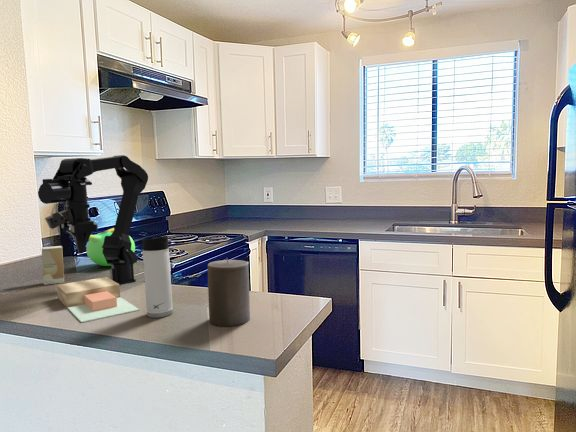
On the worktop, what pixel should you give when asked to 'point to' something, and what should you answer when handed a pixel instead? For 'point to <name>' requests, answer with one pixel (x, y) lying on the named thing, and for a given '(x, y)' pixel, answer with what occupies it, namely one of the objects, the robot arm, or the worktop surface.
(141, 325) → the worktop surface
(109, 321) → the worktop surface
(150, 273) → the travel mug
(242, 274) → the pillar candle
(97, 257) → the toy bird
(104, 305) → the salmon pink block
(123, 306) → the mat
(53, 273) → the skincare box
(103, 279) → the tan block
